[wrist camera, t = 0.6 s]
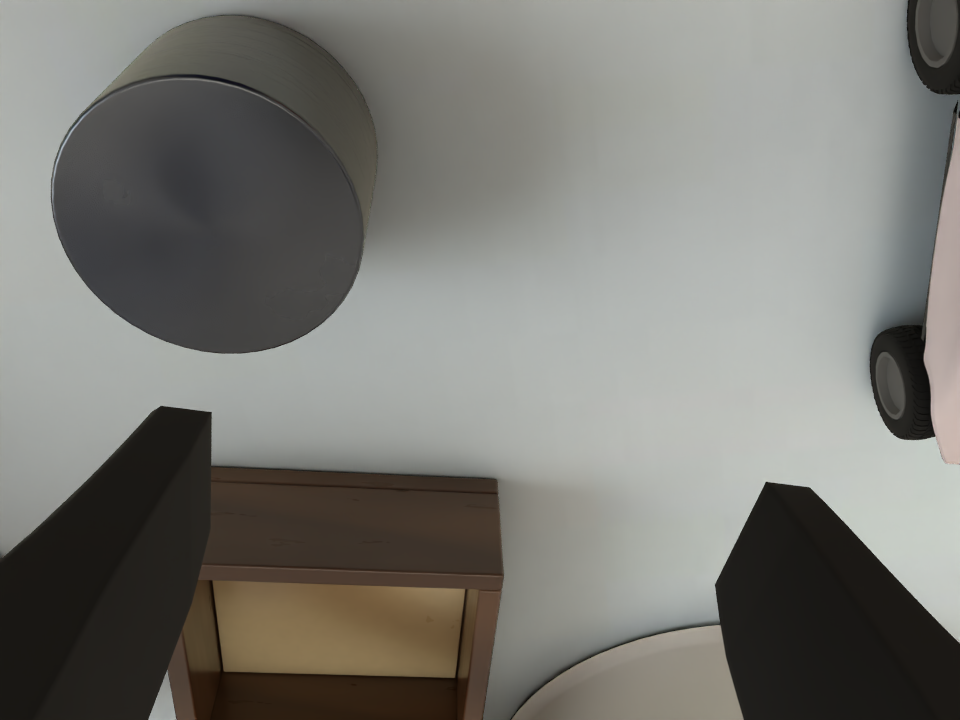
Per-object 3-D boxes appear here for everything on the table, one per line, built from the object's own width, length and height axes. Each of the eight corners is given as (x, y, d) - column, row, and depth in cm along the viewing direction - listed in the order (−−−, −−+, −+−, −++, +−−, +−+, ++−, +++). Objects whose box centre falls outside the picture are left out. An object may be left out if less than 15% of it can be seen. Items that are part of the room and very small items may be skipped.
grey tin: (136, 252, 21) (77, 347, 18) (98, 3, 18) (19, 62, 14) (375, 267, 21) (362, 362, 18) (381, 26, 18) (365, 88, 15)
